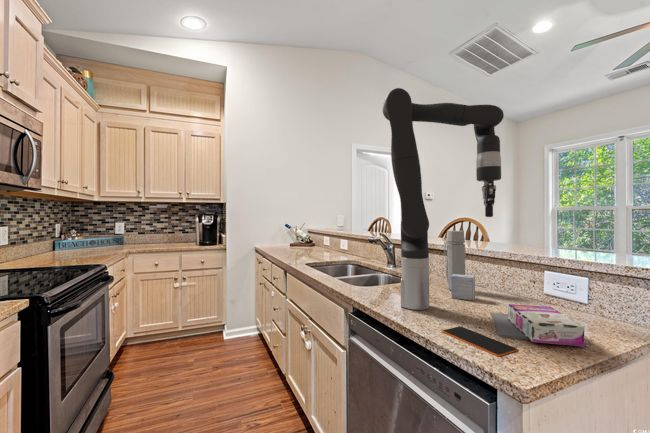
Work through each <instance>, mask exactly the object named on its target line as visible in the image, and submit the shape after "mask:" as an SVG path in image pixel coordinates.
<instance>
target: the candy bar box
mask: <svg viewBox="0 0 650 433" xmlns="http://www.w3.org/2000/svg"><path fill="white" fill-rule="evenodd" d="M507 306H508V307H507V309H508V310H507V312H508V313H507V314H508V320H509V321H510V322H511V323H512V324H513V325H515V326H516V327H517V328H518V329H519V330H520V331H521V332H522V333H523V334H524V335H525V336H526V337H527V338H528V339H529V340H528V341H530V342H532V343H537V344H539V343H540V344H549V345H550V344H551V345H563V346H565V345H566V346H573V347H582V346H584V342H585V326H583V325H582V324H580V323H579V322H577V321H575V320H574V319H572V318H570V317H568V316H567V315H565V314H563V313H561V311H559V310H557V309H555V308H553V307H552V306H543V305H528V304H527V305H525V304H511V303H508V304H507Z"/></svg>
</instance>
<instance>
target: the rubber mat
mask: <svg viewBox="0 0 650 433" xmlns="http://www.w3.org/2000/svg"><path fill="white" fill-rule="evenodd" d="M490 317H491V319H492V321H493V323H494V324H493V325H494V326H495V329H496V331H497V332H498V335H499V337H501V338H508V339H515V340H517V339H518V340H525V341H530V340H529V339H528V338H527V337H526V336H525V335H524V334H523V333H522V332H521V331H520V330H519V329H518V328H517V327H516V326H515V325H513V324H512V323H511V322H510V321H509V320H508V313H499V312H490ZM581 347H584V348H588V344H587V343H586V342H585V341H584V346H581Z"/></svg>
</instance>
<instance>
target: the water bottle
mask: <svg viewBox="0 0 650 433" xmlns="http://www.w3.org/2000/svg"><path fill="white" fill-rule="evenodd" d="M465 238H466V237H465V231H464V230H447V231H446V239H445V241H446V242H444V243H443V244H444V251H443V253H444V256H446V266H445V274H446V275H445V276H444V273H443V271H444V267H442V270H441V274H442V279H446V282H447V283H446V289H447V290H449V291H451V276H452V275H453V274H459V275H466V240H465ZM444 260H445V258H443V261H442V264H444Z"/></svg>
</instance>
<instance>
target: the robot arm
mask: <svg viewBox="0 0 650 433" xmlns="http://www.w3.org/2000/svg"><path fill="white" fill-rule="evenodd" d="M411 97H412V96H410V93H409V92H408V91H407V90H405V89H403V88H400V87H396V88H394V89H392V90H390V91H389V92H388V93H387V95H386V97H385V99H384V102H383V106H382V113H383V116H384V118H385V119H386V120H387V121H389V125H390V130H391V132H390V133H391V138H390V139H391V140H390V142H391V143H390V144H391V145H390V157H391V165H392V166H391V167H392V172H393V173H392V174H393V177H394V182H395V186H396V188H397V192H398V195H399V201H400V212H401V218H400V219H401V221H400V256H401V262H400V263H401V279H400V307H401V308H405V309H408V310H414V311H422V310H423V311H425V310H429V309H430V253H429V252H430V248H429V236H428V232H429V228H430V221H429V218H428V214H427V210H426V207H425V203H424V202H425V201H424V198H423V197H424V196H423V185H422V184H423V183H422V170H421V163H420V156H419V152H418V151H419V150H418V145H417V140H416V136H415V132H414V131H415V130H414V123H413V122H418V123H419V122H422V123H424V122H425V123H436V124H444V125H452V126H459V127H465V126H468V125H473V131H474V136H475V139H476V160H475V163H476V164H475V165H476V166H475V168H476V171H475V172H476V173H475V174H476V177H475V178H476V181H477V182H483V185H482V186H481V191H482V199H483V205H484V209H485V210H484V217H486V218H493V217H494V205H495V199H496V191H497V185H495V183H494V182H495V181H500V180H501V179H502V156H501V139H500V137H499V136H498V135H496V131H495V127H497V126H498V125H499V124H500V123H502V121H503V120H504V116H505V115H504V111H503V109H501V107H499V106H498V105H493V104H471V105H467V104H463V103H462V104H461V103H456V102H455V103H453V102H439V103H429V104H425V103H424V104H423V103H422V104H421V103H415V102H412V98H411Z"/></svg>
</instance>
